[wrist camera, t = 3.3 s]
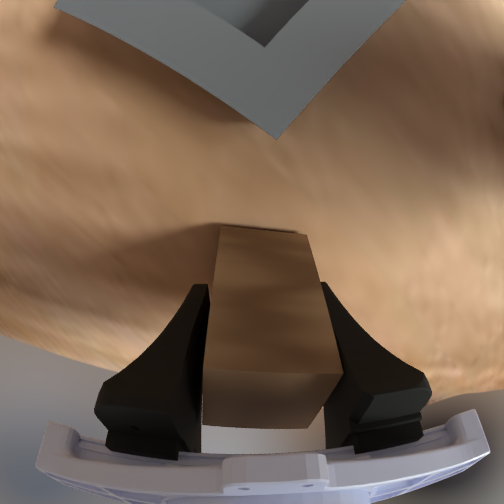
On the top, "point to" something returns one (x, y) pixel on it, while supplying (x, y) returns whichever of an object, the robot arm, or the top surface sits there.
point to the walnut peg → (267, 334)
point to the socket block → (245, 45)
